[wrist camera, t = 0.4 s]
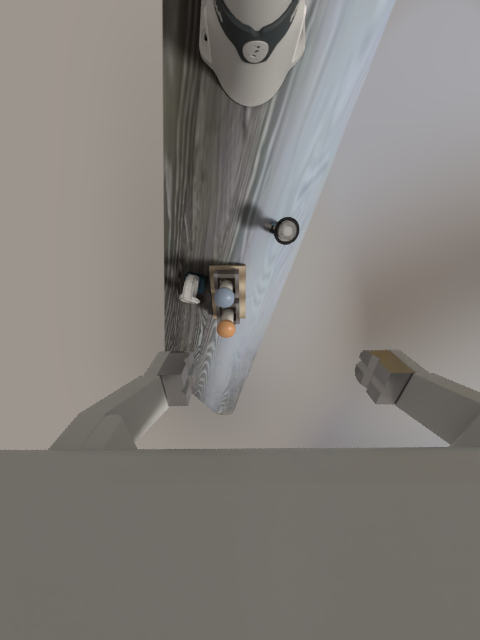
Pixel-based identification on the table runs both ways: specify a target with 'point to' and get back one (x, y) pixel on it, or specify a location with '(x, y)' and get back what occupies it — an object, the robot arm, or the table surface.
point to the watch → (193, 287)
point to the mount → (239, 280)
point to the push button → (285, 230)
